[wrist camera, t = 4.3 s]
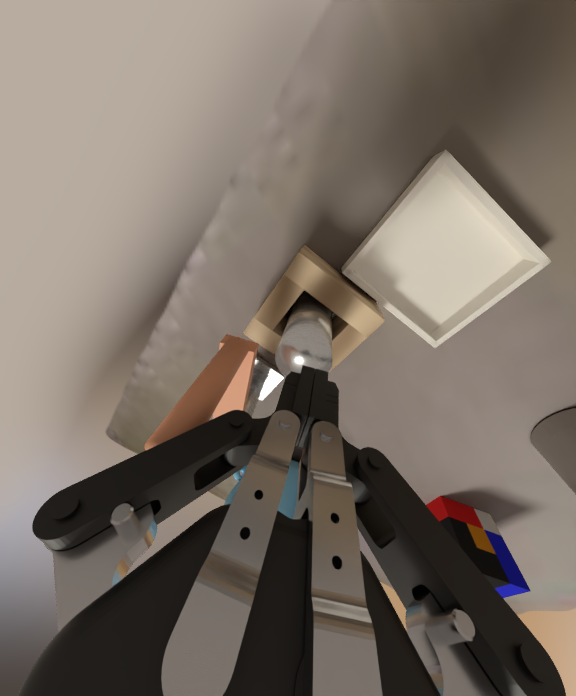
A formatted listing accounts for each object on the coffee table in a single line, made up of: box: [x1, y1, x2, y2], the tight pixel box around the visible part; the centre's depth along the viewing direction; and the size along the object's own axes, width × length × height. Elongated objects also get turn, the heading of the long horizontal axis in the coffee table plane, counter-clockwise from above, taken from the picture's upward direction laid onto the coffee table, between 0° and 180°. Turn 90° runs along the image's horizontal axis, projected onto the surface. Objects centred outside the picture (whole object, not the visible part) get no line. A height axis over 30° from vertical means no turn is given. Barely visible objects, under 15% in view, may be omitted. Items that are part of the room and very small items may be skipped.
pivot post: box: [245, 355, 285, 417], centre depth 29 cm, size 6×6×11 cm
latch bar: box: [145, 334, 259, 450], centre depth 16 cm, size 4×16×9 cm, turn 166°
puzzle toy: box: [426, 496, 530, 598], centre depth 40 cm, size 10×10×10 cm
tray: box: [341, 150, 552, 348], centre depth 22 cm, size 13×11×2 cm
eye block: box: [243, 245, 385, 371], centre depth 25 cm, size 10×10×5 cm
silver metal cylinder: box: [275, 292, 332, 377], centre depth 22 cm, size 4×4×11 cm
